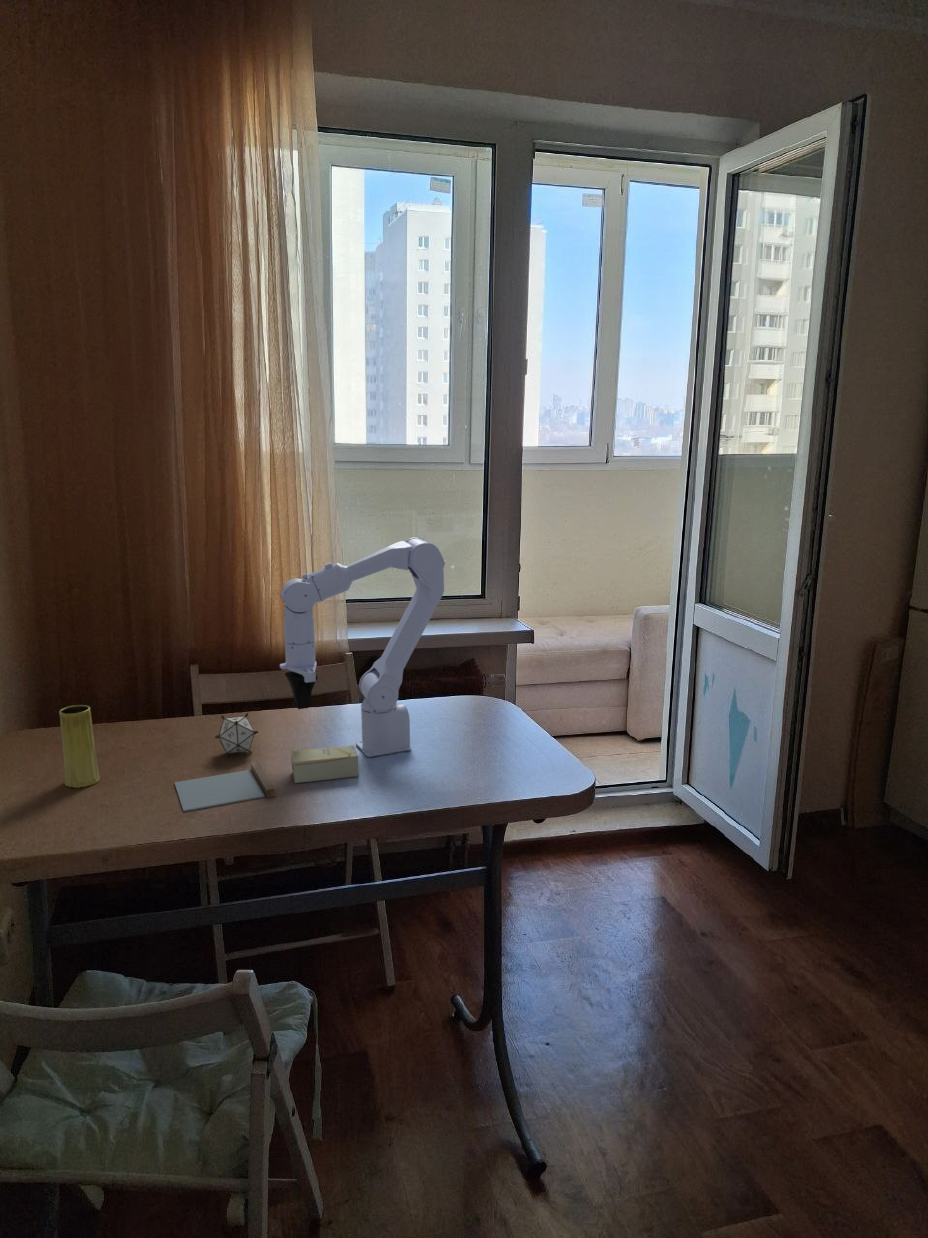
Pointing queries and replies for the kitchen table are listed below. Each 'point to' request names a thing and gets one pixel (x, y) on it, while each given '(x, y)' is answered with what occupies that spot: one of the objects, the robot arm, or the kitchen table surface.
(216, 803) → the felt mat
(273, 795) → the walnut rail
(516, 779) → the kitchen table surface
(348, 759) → the skincare box
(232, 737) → the game die
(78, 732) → the vase
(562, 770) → the kitchen table surface
